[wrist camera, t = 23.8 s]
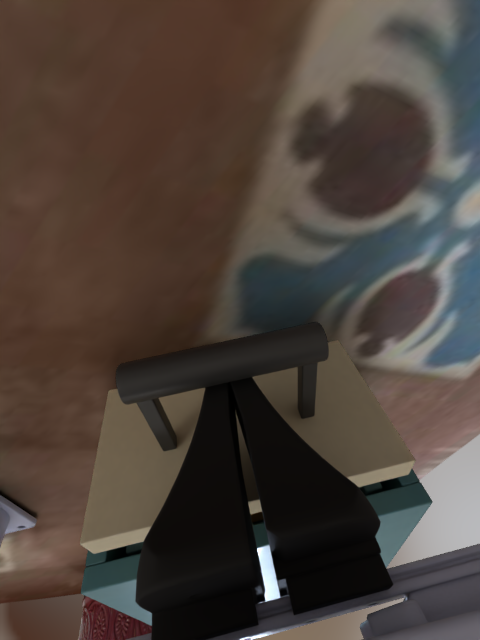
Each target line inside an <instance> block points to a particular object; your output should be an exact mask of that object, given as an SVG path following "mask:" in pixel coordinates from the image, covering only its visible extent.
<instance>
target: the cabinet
mask: <svg viewBox="0 0 480 640" xmlns="http://www.w3.org/2000/svg"><path fill="white" fill-rule="evenodd" d="M380 483H381V485H382V491H381V492H379V493H375V494H372V495H368V496H366V498H367V499H368V501H369V502H370V503H371V505H372V507H373V508H374V510H375V512H376V513H377V515H378V517H379V519H380V521H381V523H380V528H379V530H378V532H377V534H376V536H375V538H376V540H377V542H378V544H379V546H380V549H381V553H380V555H381V557H382V559H383V562H384V564H385V566H386V567H387V566H388V564H389V563H390V562H391V560H392V559H393V557H394V556H395V555H396V553H397V552H398V550H399V549H400V548H401V546H402V545H403V543H404V542H405V541H406V539H407V538H408V536H409V535H410V533H411V532H412V531H413V529H414V528H415V526H416V525H417V524H418V522H419V521H420V519H421V518H422V516H423V515H424V514H425V512H426V511H427V509H428V508H429V507H430V505H431V504H432V500H431V499H430V497H429V495H428V494H427V492H426V490H425V489H424V487H423V486H422V484H421V483H420V482H419V479H418V477H417V476H416V474H415V473H414V471H413V469H411V471H410V473H409V474H408V475H405V476H401V477H397V478H393V479H389V480H385V481H381V482H380ZM253 530H254V535H255V540H256V545H257V550H258V555H259V560H260V565H261V570H262V575H263V580H264V585H265V590H266V591H265V593H264V595H265V600H266V602H267V601H270V600H274V599H278V598H280V594H279V589H278V584H277V579H276V575H275V570H274V565H273V561H272V556H271V551H270V547H269V542H268V537H267V532H266V528H265V523H264V522H262V523H258V524H254V525H253ZM126 547H127V546H123V547H120V548H116V549H112V550H108V551H104V552H100V553H96V554H93V553H92V552H90V551H89V550H88V553H87V559H86V568H85V571H84V577H83V583H82V589H81V594H83V595H85V596H87V597H90V598H92V599H94V600H96V601H98V602H100V603H103V604H105V605H107V606H109V607H111V608H114V609H116V610H118V611H120V612H122V613H125V614H127V615H129V616H131V617H133V618H136V619H138V620H140V621H142V622H144V623H146V624H149V625H151V626H152V613H150V612H148V611H147V610H145V609H143V608H141V607H140V606H139V605H138V604H137V603H136V602H135V598H136V581H137V571H138V565H139V559H140V555H141V553H140V554H136V555H132V556H129V555H128V554H127V553H126Z"/></svg>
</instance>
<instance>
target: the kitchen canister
mask: <svg viewBox="0 0 480 640" xmlns="http://www.w3.org/2000/svg"><path fill="white" fill-rule="evenodd" d="M82 605H83V614H82V620H81V627H80V633H79V639H78V640H126V639H130V638H134V637H137V636H141V635H145V634H148V633H151V632H152V626H151V625H149V624H146V623H144V622H142V621H140V620H138V619H136V618H133V617H131V616H129V615H127V614H125V613H122V612H120V611H118V610H116V609H114V608H111V607H109V606H107V605H105V604H103V603H100V602H98V601H96V600H94V599H92V598H90V597H87V596H85V595H84V599H83V602H82Z"/></svg>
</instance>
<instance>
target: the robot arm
mask: <svg viewBox="0 0 480 640" xmlns="http://www.w3.org/2000/svg"><path fill="white" fill-rule="evenodd" d="M235 410H236V411H235ZM236 414H237V417H238V420H239V424H240V427H241V430H242V434H243V437H244V440H245V443H246V447H247V450H248V453H249V457H250V460H251V464H252V468H253V472H254V476H255V481H256V486H257V490H258V495H259V500H260V504H261V509H262V514H263V518H264V523H265V528H266V532H267V537H268V542H269V547H270V551H271V556H272V561H273V565H274V570H275V575H276V579H277V584H278V589H279V594H280V598H278V599H274V600H270V601H267V602H266V600H265V595H264V593H265V591H266V590H265V585H264V580H263V575H262V570H261V565H260V560H259V555H258V550H257V545H256V540H255V535H254V530H253V524H252V519H251V514H250V509H249V504H248V499H247V493H246V488H245V483H244V478H243V472H242V465H241V457H240V447H239V438H238V428H237V419H236ZM36 522H37V519H36V518H34V517H33V516H31V515H30V514H28V513H27V512H25V511H24V510H22V509H21V508H19V507H18V506H16V505H15V504H13V503H12V502H10V501H9V500H7V499H6V498H4V497H3V496H1V495H0V546H1V543H2V541H3V538H4V535H5V534H7V533H11V532H15V531H19V530H23V529H27V528H31V527H34V526H35V525H36ZM380 523H381V521H380V519H379V517H378V515H377V513H376V512H375V510H374V508H373V507H372V505H371V503H370V502H369V501H368V499H367V498H366V496H365V495H364V494H363V492H362V491H361V490H360V488H359V487H358V486H357V485H356V484H355V483H353V482H352V481H351V480H349V479H348V478H347V477H345V476H344V475H343V474H342V473H340V472H339V471H338V470H337V469H335V468H334V467H333V466H332V465H331V464H329V463H328V462H327V461H326V460H325V459H324V458H322V457H321V456H320V455H319V454H318V453H317V452H316V451H315V450H314V449H313V448H312V447H310V446H309V445H308V444H307V443H306V442H305V441H304V440H303V439H302V438H301V437H300V436H299V435H298V434H297V433H296V432H295V431H294V430H293V429H292V428H291V427H290V426H289V424H288V423H287V422H286V421H285V420H284V419H283V418H282V417H281V416H280V414H279V413H278V412H277V411H276V410H275V408H274V407H273V406H272V405H271V403H270V402H269V401H268V399H267V398H266V397H265V395H264V394H263V393H262V391H261V390H260V388H259V387H258V385H257V384H256V382H255V381H254V379H253V378H252V377H250V378H246V379H241V380H237V381H232V382H228V383H223V384H219V385H214V386H210V387H205V392H204V397H203V402H202V406H201V410H200V414H199V417H198V421H197V425H196V428H195V431H194V434H193V437H192V440H191V443H190V446H189V449H188V451H187V454H186V456H185V459H184V461H183V464H182V466H181V469H180V471H179V473H178V476H177V478H176V480H175V482H174V484H173V486H172V488H171V490H170V492H169V495H168V497H167V499H166V501H165V503H164V505H163V507H162V509H161V510H160V512H159V514H158V516H157V518H156V519H155V521H154V523H153V525H152V527H151V528H150V530H149V532H148V534H147V536H146V537H145V539H144V543H143V546H142V550H141V555H140V559H139V565H138V571H137V581H136V598H135V602H136V603H137V604H138V605H139V606H140V607H141V608H143V609H145V610H147V611H148V612H150V613H152V632H151V633H148V634H145V635H141V636H137V637H134V638H130V639H126V640H253V639H257V638H260V637H264V636H268V635H271V634H275V633H278V632H282V631H286V630H289V629H293V628H296V627H300V626H304V625H307V624H311V623H314V622H318V621H322V620H325V619H329V618H332V617H336V616H340V615H343V614H347V613H350V612H354V611H358V610H361V609H365V608H368V607H372V606H376V605H379V604H383V603H386V602H390V601H393V600H397V599H400V598H404V597H405V599H404V601H403V602H401V603H398V604H395V605H392V606H389V607H387V608H384V609H381V610H379V611H376V612H373V613H371V614H368V616H367V620H366V621H365V622H363V623H361V625H360V629H361V632H362V635H363V638H364V639H363V640H480V544H477V545H473V546H470V547H466V548H463V549H459V550H455V551H452V552H448V553H444V554H440V555H436V556H433V557H429V558H426V559H422V560H418V561H415V562H411V563H407V564H404V565H400V566H396V567H392V568H389V569H386V566H385V564H384V562H383V559H382V557H381V555H380V553H381V549H380V546H379V544H378V542H377V540H376V538H375V536H376V534H377V532H378V530H379V528H380Z"/></svg>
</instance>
